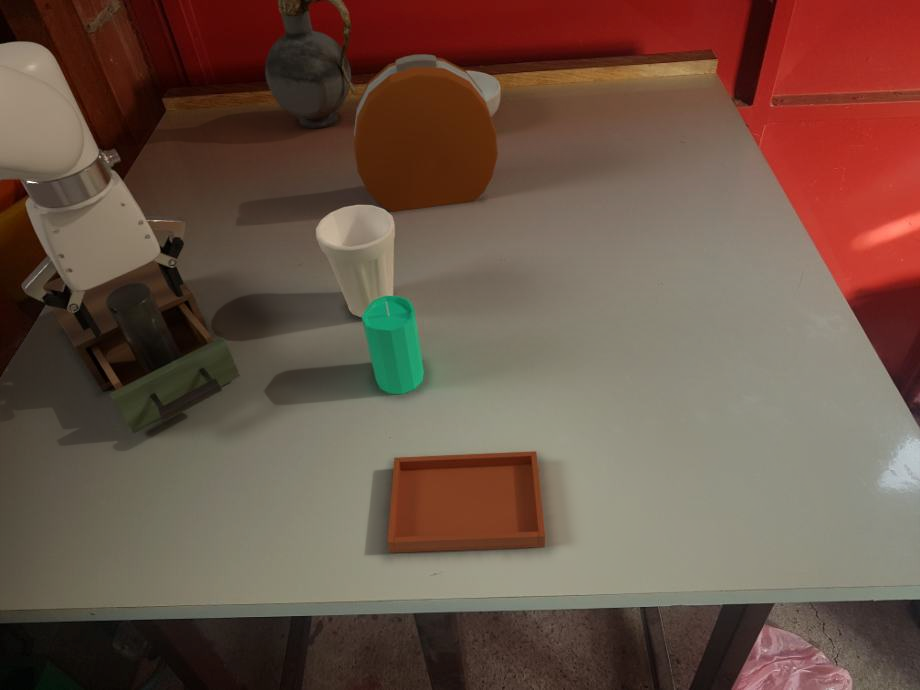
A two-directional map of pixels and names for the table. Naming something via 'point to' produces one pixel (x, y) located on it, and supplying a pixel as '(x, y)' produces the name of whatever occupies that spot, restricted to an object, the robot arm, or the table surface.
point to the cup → (360, 252)
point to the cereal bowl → (488, 89)
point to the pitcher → (309, 66)
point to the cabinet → (104, 318)
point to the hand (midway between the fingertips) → (136, 310)
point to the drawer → (166, 371)
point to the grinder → (143, 326)
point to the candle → (394, 344)
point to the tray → (466, 502)
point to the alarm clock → (424, 135)
